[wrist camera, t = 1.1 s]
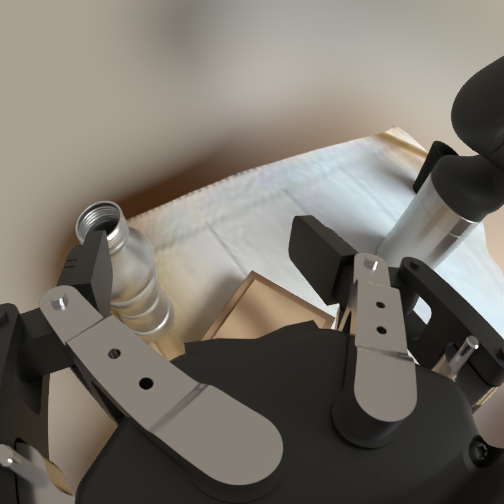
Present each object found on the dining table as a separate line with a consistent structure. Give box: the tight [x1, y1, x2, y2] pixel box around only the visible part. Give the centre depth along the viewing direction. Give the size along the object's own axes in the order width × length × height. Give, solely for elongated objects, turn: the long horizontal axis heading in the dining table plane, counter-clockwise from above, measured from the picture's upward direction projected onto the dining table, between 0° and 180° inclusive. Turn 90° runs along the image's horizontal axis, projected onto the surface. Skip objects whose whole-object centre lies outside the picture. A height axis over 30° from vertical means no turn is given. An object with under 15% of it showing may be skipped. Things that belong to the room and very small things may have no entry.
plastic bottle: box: [75, 201, 175, 343], centre depth 26 cm, size 6×7×20 cm
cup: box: [413, 141, 459, 194], centre depth 50 cm, size 8×8×12 cm
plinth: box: [201, 271, 335, 341], centre depth 33 cm, size 12×12×3 cm
